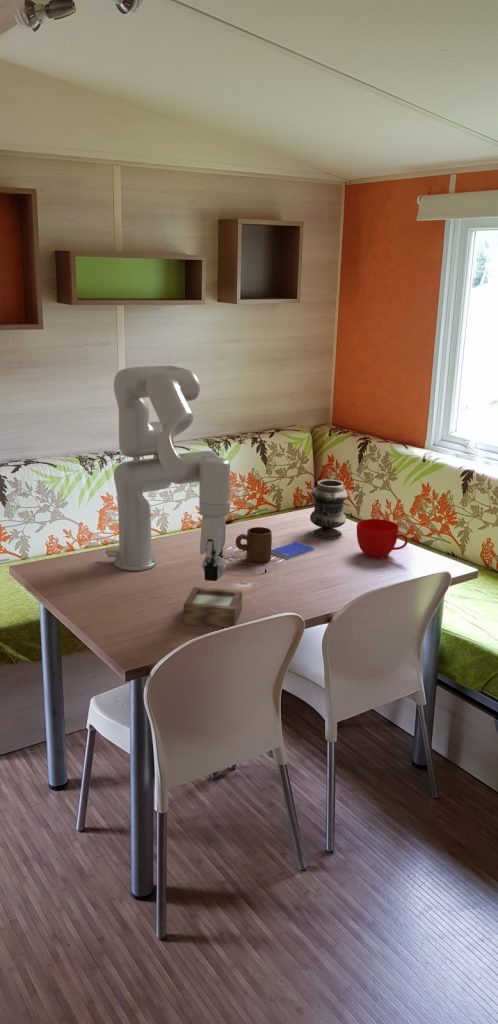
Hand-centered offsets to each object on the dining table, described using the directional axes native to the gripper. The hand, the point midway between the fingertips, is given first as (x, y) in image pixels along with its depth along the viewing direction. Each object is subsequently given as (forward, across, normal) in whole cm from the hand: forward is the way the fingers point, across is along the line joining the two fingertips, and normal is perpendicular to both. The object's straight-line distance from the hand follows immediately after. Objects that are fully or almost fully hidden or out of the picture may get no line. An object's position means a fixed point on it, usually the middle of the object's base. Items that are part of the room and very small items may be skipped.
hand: (213, 574), depth 214 cm
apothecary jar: (+12, -74, +25) cm, 79 cm away
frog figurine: (+2, 0, 0) cm, 2 cm away
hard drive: (+12, -54, +15) cm, 57 cm away
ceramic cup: (+12, -55, +43) cm, 71 cm away
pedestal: (+12, 0, 0) cm, 12 cm away
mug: (+12, -43, +4) cm, 45 cm away
